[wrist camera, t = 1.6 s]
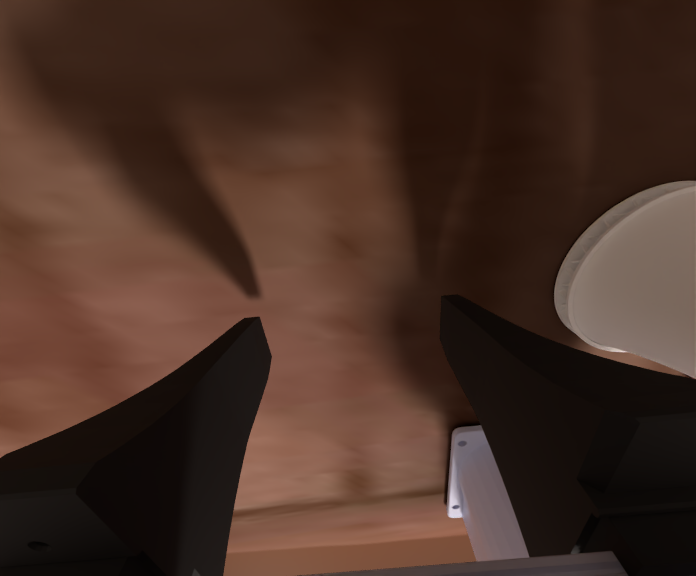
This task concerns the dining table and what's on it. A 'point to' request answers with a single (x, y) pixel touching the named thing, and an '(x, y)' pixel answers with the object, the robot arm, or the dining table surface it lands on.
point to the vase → (636, 278)
